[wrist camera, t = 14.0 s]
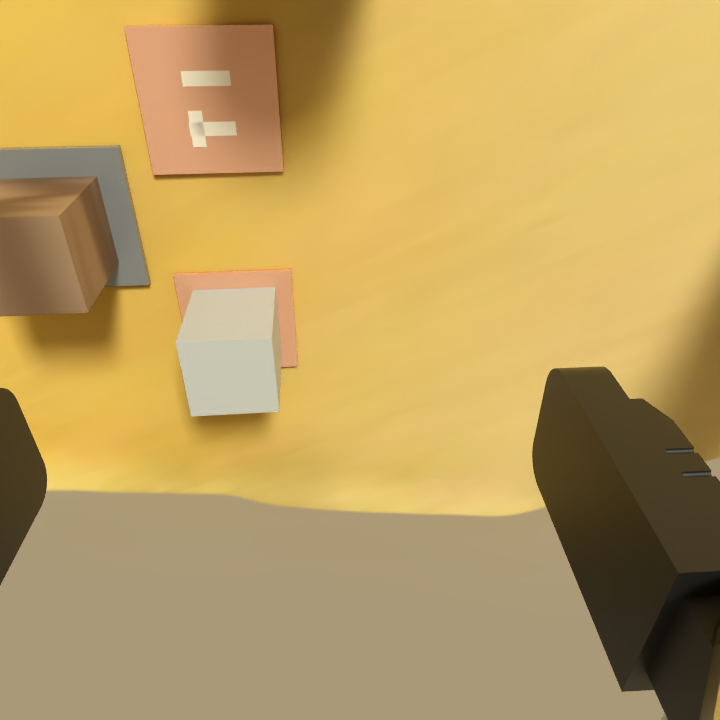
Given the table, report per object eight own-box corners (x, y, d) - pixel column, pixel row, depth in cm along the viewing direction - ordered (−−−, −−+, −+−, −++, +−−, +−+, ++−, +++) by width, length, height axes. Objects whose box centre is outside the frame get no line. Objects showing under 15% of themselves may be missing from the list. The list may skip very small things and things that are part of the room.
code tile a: (272, 24, 28) (272, 24, 28) (283, 169, 32) (283, 171, 32) (125, 25, 28) (123, 26, 28) (154, 173, 32) (153, 174, 32)
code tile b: (290, 269, 36) (290, 271, 35) (297, 363, 40) (297, 366, 39) (174, 273, 35) (173, 275, 35) (192, 368, 39) (192, 371, 39)
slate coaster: (119, 145, 31) (118, 147, 31) (150, 281, 35) (148, 284, 35) (-38, 148, 30) (-42, 150, 30) (13, 287, 35) (10, 290, 35)
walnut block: (96, 176, 31) (58, 215, 26) (118, 262, 34) (87, 312, 29) (0, 178, 31) (-57, 219, 26) (30, 265, 34) (-17, 317, 29)
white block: (275, 286, 36) (271, 338, 31) (281, 354, 39) (279, 411, 34) (193, 290, 36) (175, 342, 31) (205, 358, 38) (191, 416, 33)
